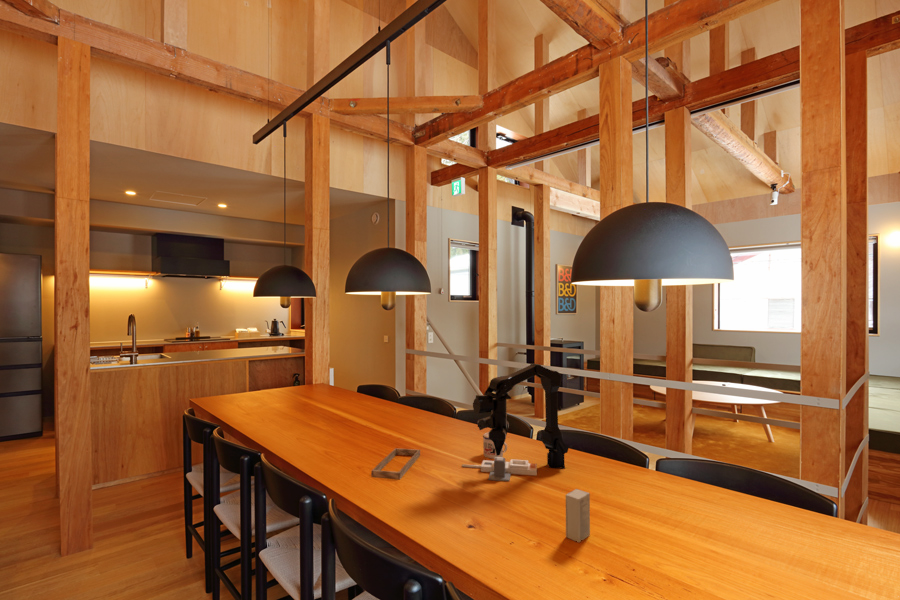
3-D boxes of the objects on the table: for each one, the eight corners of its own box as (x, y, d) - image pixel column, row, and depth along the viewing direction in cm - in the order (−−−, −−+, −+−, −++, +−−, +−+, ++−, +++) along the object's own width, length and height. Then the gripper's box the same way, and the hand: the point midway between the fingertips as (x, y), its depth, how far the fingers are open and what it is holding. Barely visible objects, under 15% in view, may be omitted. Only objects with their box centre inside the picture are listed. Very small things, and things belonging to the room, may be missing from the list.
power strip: (536, 468, 179) (536, 457, 179) (536, 475, 172) (536, 464, 172) (463, 463, 186) (463, 453, 186) (460, 469, 178) (460, 459, 178)
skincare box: (577, 530, 129) (576, 488, 129) (590, 535, 126) (590, 492, 126) (565, 537, 125) (564, 494, 125) (578, 543, 121) (578, 499, 122)
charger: (505, 473, 172) (505, 457, 172) (504, 477, 168) (504, 461, 168) (495, 472, 173) (495, 457, 173) (494, 476, 169) (494, 460, 169)
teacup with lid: (478, 455, 196) (478, 429, 196) (491, 451, 202) (491, 425, 203) (500, 462, 187) (500, 434, 188) (512, 456, 194) (512, 430, 194)
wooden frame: (420, 455, 196) (420, 449, 196) (400, 479, 168) (400, 472, 168) (395, 453, 198) (395, 448, 198) (371, 477, 170) (371, 470, 170)
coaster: (510, 473, 174) (510, 472, 174) (509, 481, 166) (509, 479, 166) (490, 472, 175) (490, 470, 175) (488, 479, 168) (488, 478, 168)
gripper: (481, 405, 182) (481, 443, 182) (475, 415, 164) (475, 457, 163) (508, 406, 180) (508, 444, 179) (505, 417, 161) (505, 459, 161)
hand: (499, 451), depth 171 cm, fingers open, 9 cm apart
